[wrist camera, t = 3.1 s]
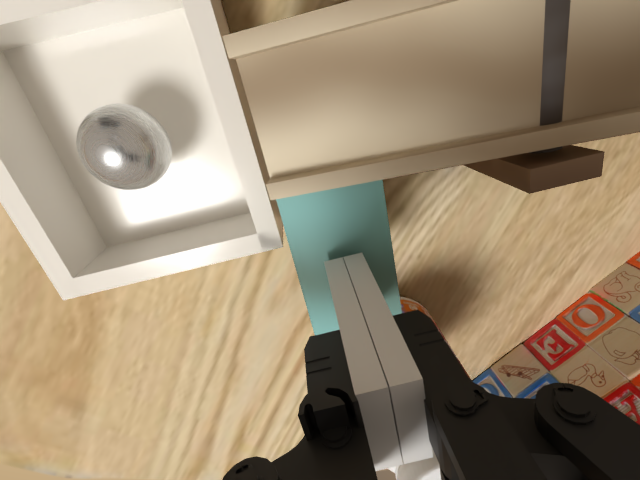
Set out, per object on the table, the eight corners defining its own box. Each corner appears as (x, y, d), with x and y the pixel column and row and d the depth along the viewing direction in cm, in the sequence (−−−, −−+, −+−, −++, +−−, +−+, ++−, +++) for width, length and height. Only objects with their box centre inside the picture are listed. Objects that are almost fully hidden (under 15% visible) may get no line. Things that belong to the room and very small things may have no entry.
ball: (90, 111, 16) (36, 118, 13) (165, 93, 16) (129, 95, 13) (125, 185, 17) (84, 209, 14) (193, 169, 17) (168, 189, 14)
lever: (237, 30, 12) (204, 19, 9) (963, -172, 8) (1231, -278, 6) (317, 322, 17) (311, 367, 14) (787, 265, 14) (890, 312, 11)
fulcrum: (380, -25, 16) (486, -145, 8) (485, -50, 16) (702, -197, 8) (403, 163, 20) (490, 219, 12) (487, 143, 20) (637, 184, 12)
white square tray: (-25, 33, 16) (-119, 16, 12) (213, -26, 16) (192, -60, 12) (102, 262, 21) (63, 300, 17) (282, 218, 21) (282, 246, 17)
